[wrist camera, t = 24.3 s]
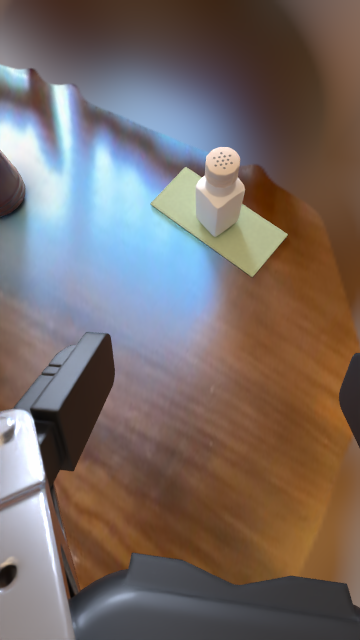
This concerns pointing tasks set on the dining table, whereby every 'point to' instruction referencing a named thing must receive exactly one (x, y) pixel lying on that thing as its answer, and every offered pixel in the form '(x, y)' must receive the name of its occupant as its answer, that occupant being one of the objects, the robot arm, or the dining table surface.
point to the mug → (10, 186)
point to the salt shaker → (219, 191)
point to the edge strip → (235, 242)
